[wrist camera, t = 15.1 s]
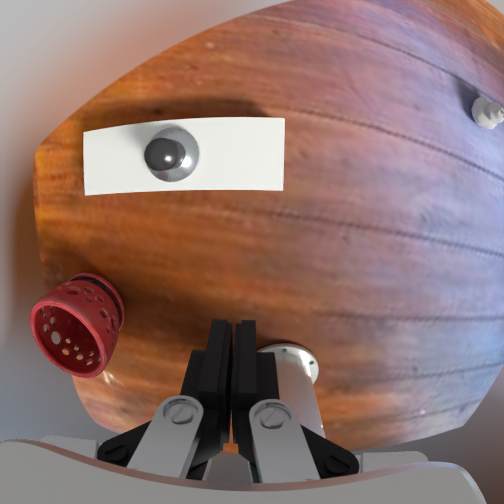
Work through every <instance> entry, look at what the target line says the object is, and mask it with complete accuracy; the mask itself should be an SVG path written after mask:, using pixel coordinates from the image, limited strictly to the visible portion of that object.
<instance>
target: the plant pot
mask: <svg viewBox="0 0 504 504" xmlns="http://www.w3.org/2000/svg"><path fill="white" fill-rule="evenodd" d="M51 305H52V308H51V309H50V306H51ZM44 313H45V317H44V318H43V314H44ZM51 317H54V323H53V324H51V323H50V318H51ZM124 319H125V309H124V305H123V302H122V299H121V297H120V295H119V293H118V292H117V290H116V289H115V288H114V287H113V286H112V285H111V284H110V283H109V282H108V281H107V280H105V279H104V278H102V277H101V276H98V275H96V274H93V273H79V274H76V275H74V276H72V277H71V278H70V279H69V280H68V282H66V283H63V284H61V285H59V286H57V287H55V288H53V289H51V290H50V291H49V292H48V293H46V294H45V295H44V296H42V297H41V298H40V299H39V300H38V302H37V303H36V304H35V305H34V306H33V308H32V310H31V314H30V326H31V331H32V334H33V337H34V339H35V341H36V343H37V345H38V346H39V348H40V349H41V351H42V352H43V353H44V355H45V356H46V357H47V358H48V359H49V360H50V361H51V362H52V363H54V364H55V365H56V366H57V367H59V368H60V369H62V370H63V371H65V372H67V373H69V374H72V375H74V376H78V377H82V378H91V377H95V376H97V375H99V374H100V373H102V372H103V370H104V369H105V367H106V365H107V364H108V362H109V360H110V358H111V356H112V353H113V351H114V349H115V346H116V343H117V339H118V334H119V330H120V329H121V327H122V326H123V323H124ZM45 324H46V325H47V331H46V332H44V329H43V326H44V325H45ZM54 331H55V332H57V333H58V334H59V336H60V343H59V344H57V345H56V344H54V343H53V342H52V339H51V335H52V332H54ZM66 339H69V340H70V341H71V342H70V344H68V343H67V342H66V341H65V340H66ZM74 347H78V348H79V350H78V351H76V350H74ZM63 349H66V350H67V351H68V352H69V355H65V354H63V352H62V350H63ZM92 353H94V355H92V356H89V355H90V354H92ZM78 355H81V356H83V359H82V360H78V359H76V357H77V356H78ZM100 357H101V360H100V361H98V360H99V358H100ZM91 361H92V364H90V365H86V364H87V363H88V362H91Z"/></svg>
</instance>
